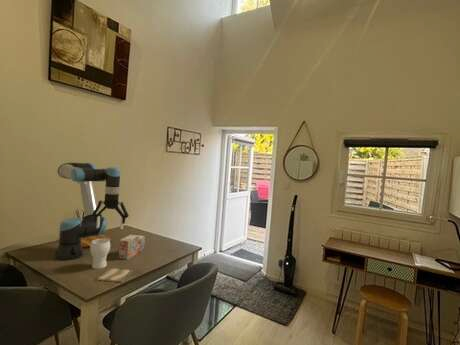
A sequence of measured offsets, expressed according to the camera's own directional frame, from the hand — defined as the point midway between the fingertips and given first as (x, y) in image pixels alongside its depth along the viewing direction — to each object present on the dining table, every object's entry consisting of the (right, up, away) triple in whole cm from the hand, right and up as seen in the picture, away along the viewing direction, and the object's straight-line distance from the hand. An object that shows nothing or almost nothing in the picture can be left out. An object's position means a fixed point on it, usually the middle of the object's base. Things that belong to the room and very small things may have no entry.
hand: (109, 228), depth 151 cm
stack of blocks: (+6, -22, +20) cm, 30 cm away
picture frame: (+9, -24, -12) cm, 28 cm away
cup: (-5, -22, -2) cm, 23 cm away
